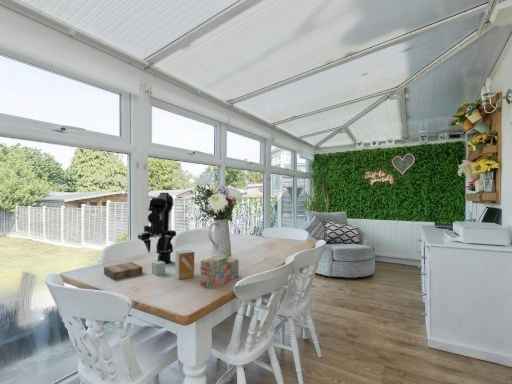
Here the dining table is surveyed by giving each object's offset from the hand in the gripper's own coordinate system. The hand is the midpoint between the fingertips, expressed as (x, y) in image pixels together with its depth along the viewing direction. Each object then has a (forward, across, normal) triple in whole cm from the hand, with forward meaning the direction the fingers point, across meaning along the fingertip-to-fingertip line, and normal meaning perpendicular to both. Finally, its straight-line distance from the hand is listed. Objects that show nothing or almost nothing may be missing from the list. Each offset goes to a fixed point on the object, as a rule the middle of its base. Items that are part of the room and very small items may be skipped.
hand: (157, 250), depth 137 cm
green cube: (+12, 0, 0) cm, 12 cm away
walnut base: (+13, +13, -12) cm, 22 cm away
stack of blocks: (+12, -16, +33) cm, 39 cm away
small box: (+12, -8, +14) cm, 20 cm away
